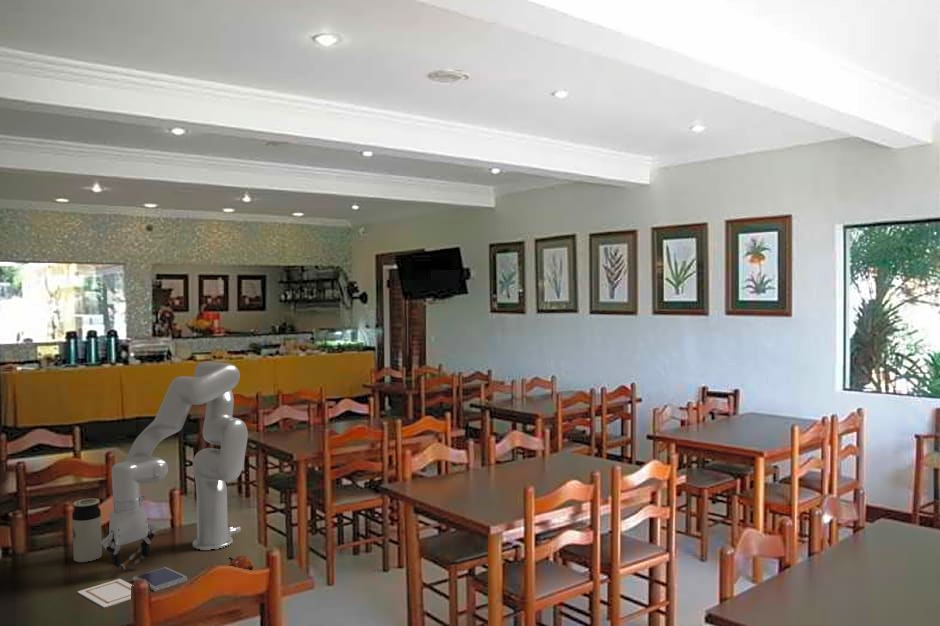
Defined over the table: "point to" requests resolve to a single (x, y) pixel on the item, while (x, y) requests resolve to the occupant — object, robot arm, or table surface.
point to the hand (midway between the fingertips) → (131, 561)
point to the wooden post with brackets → (138, 550)
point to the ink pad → (162, 578)
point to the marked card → (108, 593)
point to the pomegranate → (241, 562)
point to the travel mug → (86, 530)
